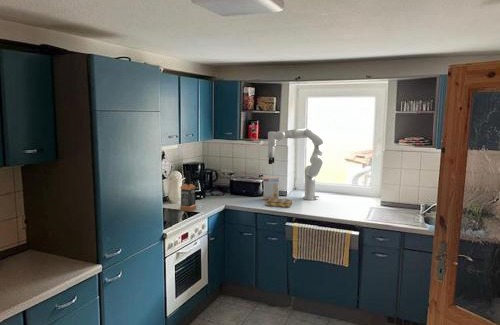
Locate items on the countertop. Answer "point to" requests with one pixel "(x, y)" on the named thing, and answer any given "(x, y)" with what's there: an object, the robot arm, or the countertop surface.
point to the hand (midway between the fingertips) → (271, 163)
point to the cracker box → (271, 187)
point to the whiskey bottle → (188, 195)
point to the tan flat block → (279, 202)
